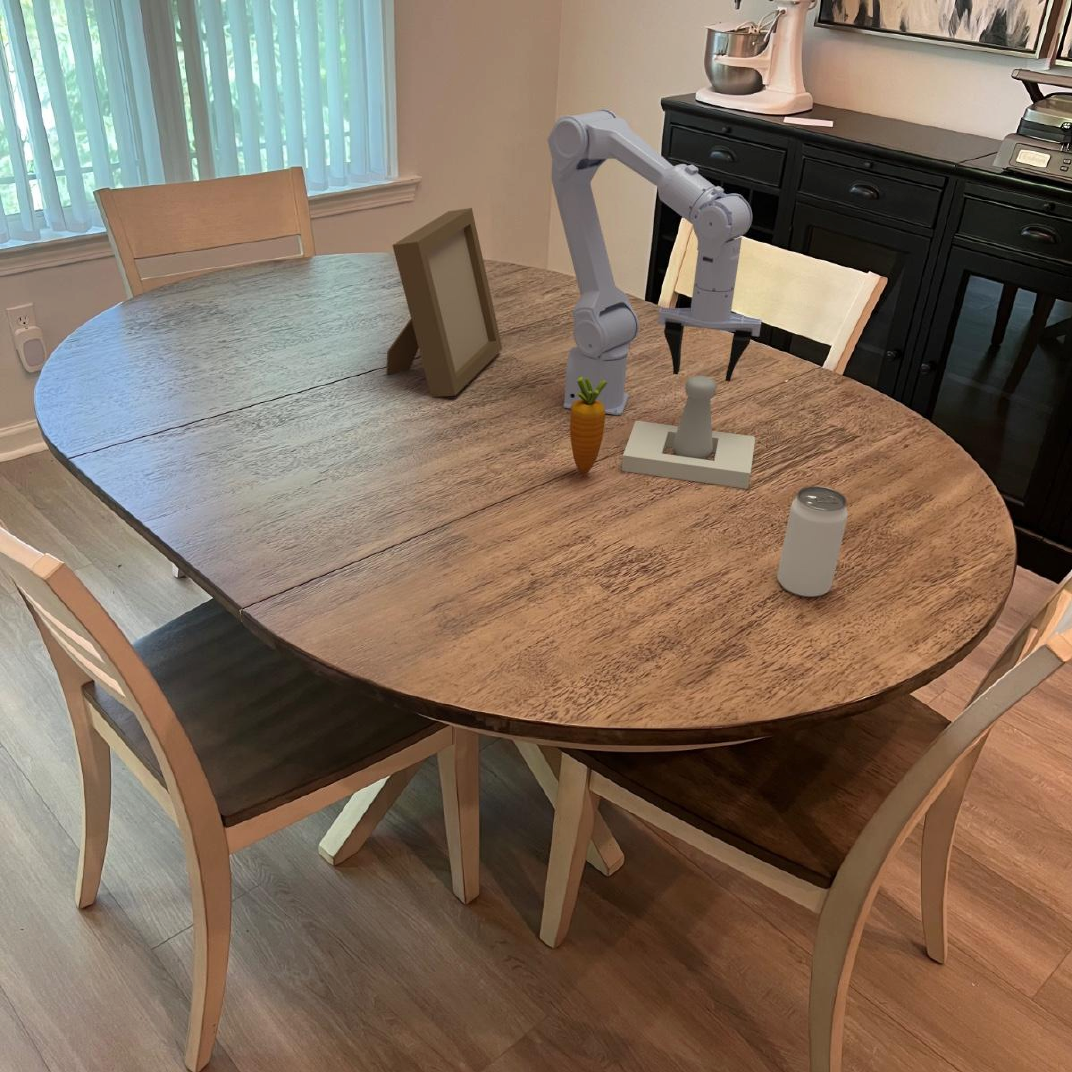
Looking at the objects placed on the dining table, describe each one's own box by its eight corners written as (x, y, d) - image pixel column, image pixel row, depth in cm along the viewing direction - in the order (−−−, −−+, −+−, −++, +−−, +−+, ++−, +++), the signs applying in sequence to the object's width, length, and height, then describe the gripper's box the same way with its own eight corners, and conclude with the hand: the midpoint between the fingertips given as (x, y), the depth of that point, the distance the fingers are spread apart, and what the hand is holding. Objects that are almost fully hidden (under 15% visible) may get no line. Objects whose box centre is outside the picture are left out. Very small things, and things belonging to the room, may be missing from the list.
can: (770, 569, 127) (786, 484, 121) (821, 568, 128) (839, 483, 122) (785, 599, 122) (803, 512, 116) (838, 598, 123) (858, 511, 116)
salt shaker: (702, 474, 148) (713, 391, 141) (665, 464, 150) (675, 381, 143) (716, 458, 152) (728, 377, 145) (680, 449, 154) (690, 368, 148)
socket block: (621, 470, 148) (623, 455, 147) (634, 435, 158) (635, 420, 157) (748, 489, 145) (750, 473, 143) (752, 451, 155) (755, 436, 153)
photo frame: (502, 354, 184) (503, 211, 170) (455, 400, 166) (452, 246, 153) (426, 342, 188) (421, 202, 174) (372, 387, 170) (362, 234, 157)
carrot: (604, 471, 148) (613, 373, 140) (595, 486, 144) (603, 387, 136) (571, 464, 149) (578, 367, 141) (561, 479, 145) (567, 380, 137)
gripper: (767, 282, 147) (753, 371, 154) (666, 271, 150) (657, 359, 157) (765, 298, 141) (750, 389, 148) (660, 286, 144) (650, 376, 151)
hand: (702, 375), depth 152 cm, fingers open, 7 cm apart
